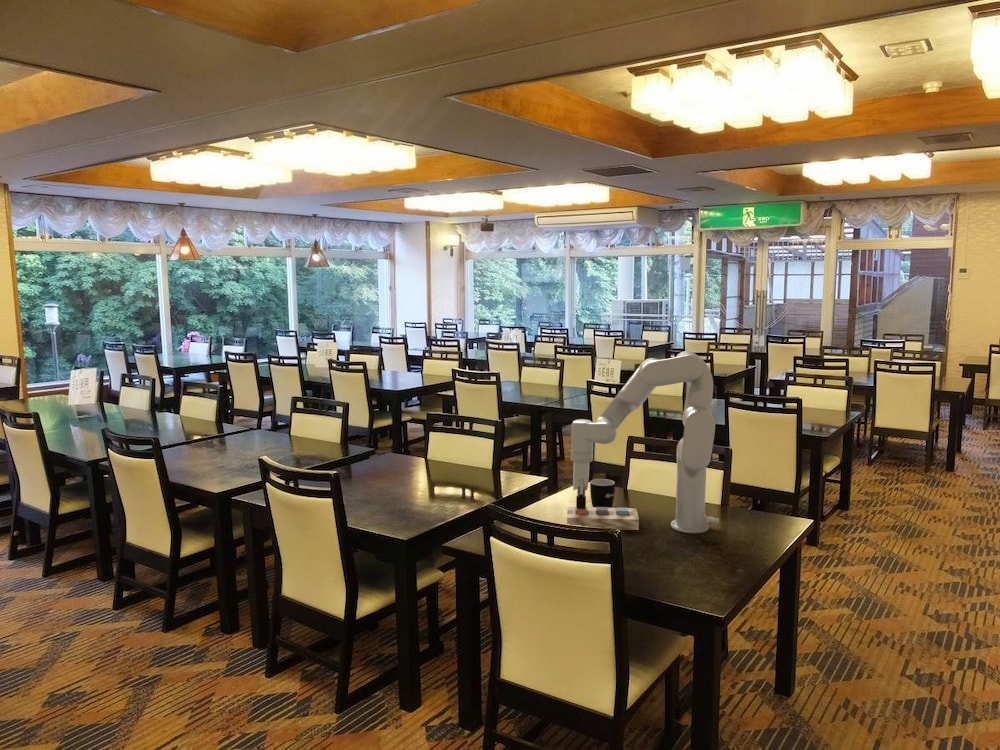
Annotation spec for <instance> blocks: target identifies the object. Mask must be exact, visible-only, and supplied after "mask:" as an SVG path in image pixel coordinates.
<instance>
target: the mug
mask: <svg viewBox="0 0 1000 750" xmlns="http://www.w3.org/2000/svg"><path fill="white" fill-rule="evenodd" d="M589 482H590V483H589V485H590V486H589V487H590V488H589V489H590V490H589V491H590V501H591V505H592V506H591V507H607V508H613V505H614V500H615V495H616V483H615V481H614V480H611V479H607V478H594V479H592V480H591V481H589Z"/></svg>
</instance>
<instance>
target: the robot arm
mask: <svg viewBox="0 0 1000 750" xmlns="http://www.w3.org/2000/svg"><path fill="white" fill-rule="evenodd" d="M680 383H681V384H682V383H686V392H685V399H684V400H685V403H684V408H683V413H682V418H681V419H682V424H683V426H684V429H683V437H682V438H681V439H679V441H678V443H677V444H676V445H677V446H676V452H675V453H676V487H675V488H676V491H675V496H676V497H675V498H676V499H675V519H673V520H672V521H671V522H670V526H671V528H672V529H673V530H675V531H677V532H681V533H685V534H686V533H687V534H702V533H705V532H707V531H709V530H710V524H711V525H719V524H720V518H715V516H708V515H706V489H707V488H706V487H707V486H706V485H707V467H708V465H709V463H710V462H711V459H712V453H713V447H714V439H715V432H716V421H715V420H716V419H715V418H714V416H713V414H712V405H713V396H714V395H713V393H714V379H713V375H712V372H711V369H710V367H709V366H708V365H707V363H706V362H705V361H704V359H702V358H701V356H699V355H698V354H696V353H694V352H693V351H688V350H684V351H681V352H679V353H678V354H677V355H676V356H675V357H670V358H664V359H663V358H662V359H658V358H655V357H650V358H646V359H645V360H643V362H642V363H640V364H639V366H638V367H637V368H636V370H635V371H634V373H633V374H632V375H631V376H630V377H629V379H628V380H627V382H626V383H625V385H623V387H622V388H621V389H620V390H619V392H618V393H617V394H616V396H615V397H614V398H613V399H612V401H611V402H609V403H608V405H607V406H606V408H605V409H604V410H603V411H602V413H601V414H600V415H599V416H598V418H597V419H596V421H595V422H593V421H591V420H590V419H585V418H584V419H583V418H582V419H581V418H580V419H575V420H573V421H572V423H571V440H570V445H571V446H570V461H571V462H573V468H572V471H573V473H572V475H573V476H572V477H573V479H572V487H573V490H574V491H575V490H576V492H577V494H576V503H575V505H576V506H575V507H576V508H586V507H587V502H586V501H587V496H586V491H588V488H589V479H590V478H589V477H590V463H592V462H593V461H594V443H596V444H601V445H608V444H611V443H613V442H614V441H615V440H616V438H617V430H618V428H619V427H620V426H621V424H622V423H623V422H624V421H625V420H626V418H627V417H628V416H629V415H630V414H631V413H633V412H634V411H636V410H638V409H639V408H640V407H641V406H642V405H644V402H645V401H646V400H647V399H648V398H649V396H651V394H652V393H653V391H654V390H655V389H656V387H665V386H669V385H676V384H680Z"/></svg>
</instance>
